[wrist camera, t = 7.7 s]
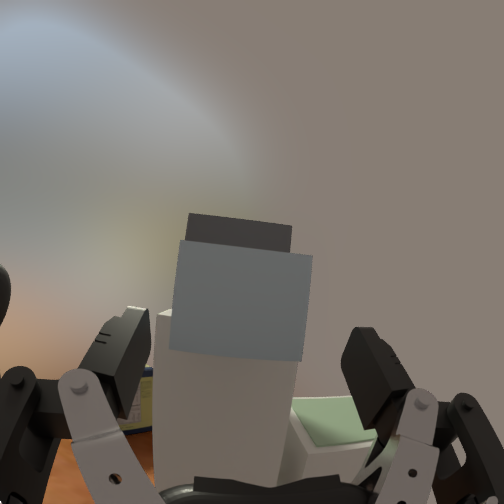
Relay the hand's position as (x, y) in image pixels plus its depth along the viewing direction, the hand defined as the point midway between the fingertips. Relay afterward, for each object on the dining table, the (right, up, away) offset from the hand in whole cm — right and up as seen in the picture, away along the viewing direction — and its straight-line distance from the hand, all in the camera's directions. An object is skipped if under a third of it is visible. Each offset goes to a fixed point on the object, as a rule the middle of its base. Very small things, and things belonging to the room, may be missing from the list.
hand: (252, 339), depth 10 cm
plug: (-1, -1, +7) cm, 7 cm away
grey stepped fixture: (+1, -34, +10) cm, 36 cm away
